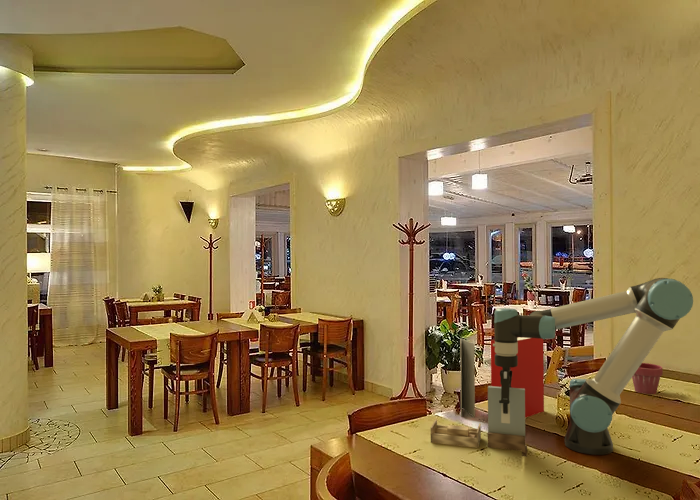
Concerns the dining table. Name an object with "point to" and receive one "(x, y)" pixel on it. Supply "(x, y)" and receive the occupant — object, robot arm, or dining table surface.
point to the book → (525, 373)
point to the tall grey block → (467, 376)
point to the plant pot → (647, 378)
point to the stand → (507, 442)
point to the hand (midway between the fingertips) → (506, 416)
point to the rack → (441, 436)
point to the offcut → (458, 430)
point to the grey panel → (515, 411)
